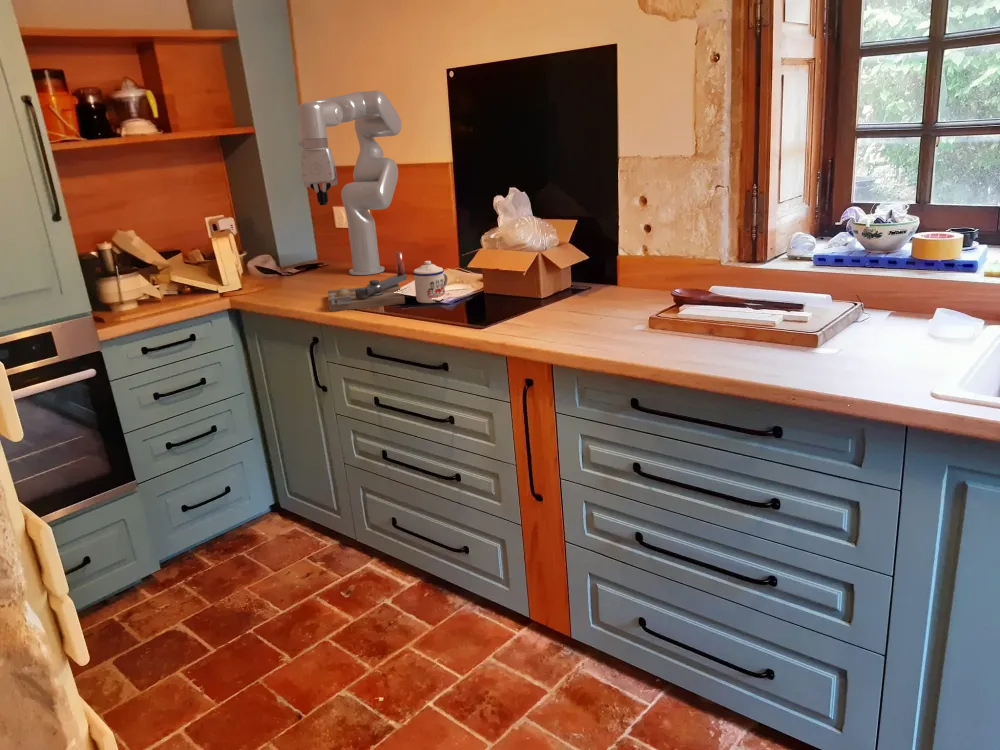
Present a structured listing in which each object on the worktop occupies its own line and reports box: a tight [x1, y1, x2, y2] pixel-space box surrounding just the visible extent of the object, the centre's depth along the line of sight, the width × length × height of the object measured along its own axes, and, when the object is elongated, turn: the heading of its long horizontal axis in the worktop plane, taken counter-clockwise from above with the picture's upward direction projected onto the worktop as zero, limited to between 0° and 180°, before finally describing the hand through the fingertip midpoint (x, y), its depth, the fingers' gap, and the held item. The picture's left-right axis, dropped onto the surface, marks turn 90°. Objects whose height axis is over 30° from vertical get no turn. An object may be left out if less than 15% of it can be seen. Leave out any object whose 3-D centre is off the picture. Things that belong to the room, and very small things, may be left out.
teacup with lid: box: [412, 260, 449, 304], centre depth 225 cm, size 12×9×12 cm
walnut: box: [336, 287, 350, 297], centre depth 221 cm, size 4×4×4 cm
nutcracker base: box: [327, 279, 406, 312], centre depth 229 cm, size 21×22×6 cm
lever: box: [355, 251, 407, 299], centre depth 230 cm, size 23×5×10 cm, turn 155°
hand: (323, 204), depth 241 cm, fingers closed
